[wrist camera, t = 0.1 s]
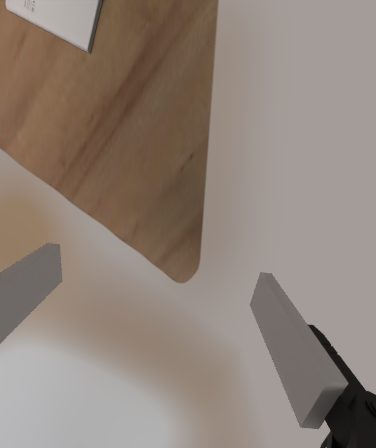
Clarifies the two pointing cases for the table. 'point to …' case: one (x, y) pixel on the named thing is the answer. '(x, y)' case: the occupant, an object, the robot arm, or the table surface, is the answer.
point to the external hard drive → (61, 18)
